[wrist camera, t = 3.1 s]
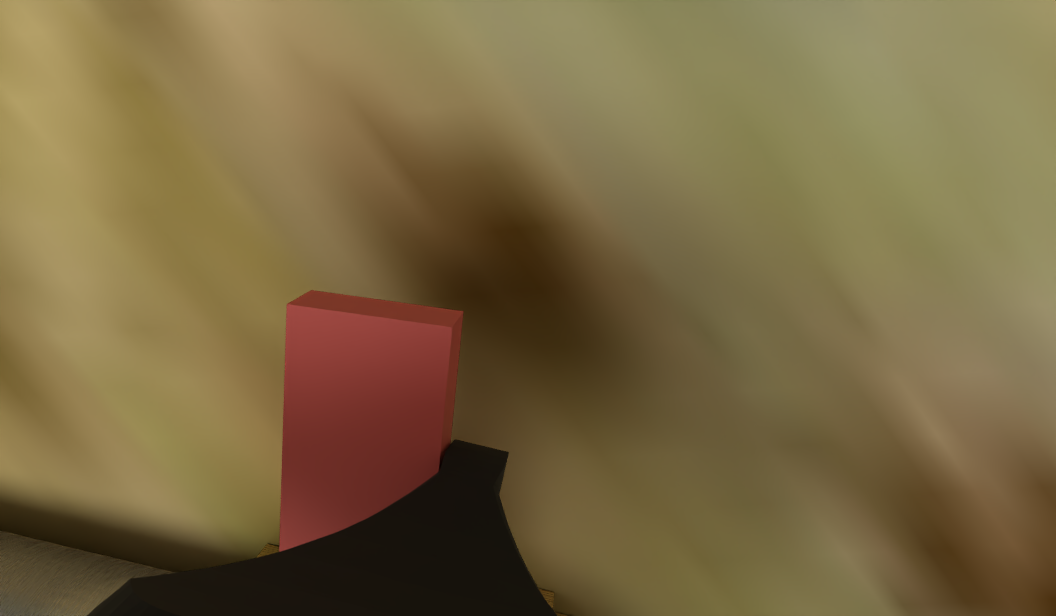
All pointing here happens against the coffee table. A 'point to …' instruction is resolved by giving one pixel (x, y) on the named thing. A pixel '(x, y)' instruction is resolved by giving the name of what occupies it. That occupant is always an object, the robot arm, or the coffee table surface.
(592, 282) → the coffee table surface
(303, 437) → the lever
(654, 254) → the coffee table surface
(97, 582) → the valve pipe
